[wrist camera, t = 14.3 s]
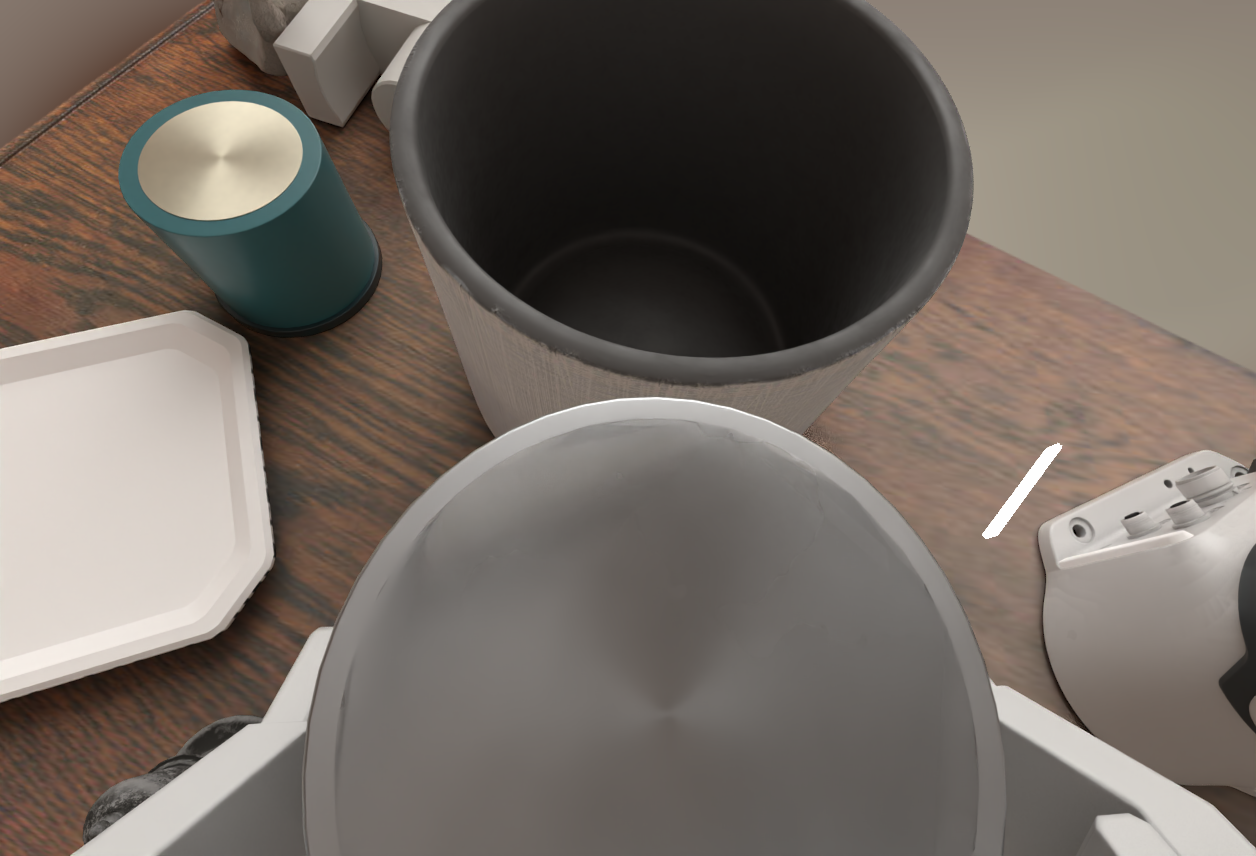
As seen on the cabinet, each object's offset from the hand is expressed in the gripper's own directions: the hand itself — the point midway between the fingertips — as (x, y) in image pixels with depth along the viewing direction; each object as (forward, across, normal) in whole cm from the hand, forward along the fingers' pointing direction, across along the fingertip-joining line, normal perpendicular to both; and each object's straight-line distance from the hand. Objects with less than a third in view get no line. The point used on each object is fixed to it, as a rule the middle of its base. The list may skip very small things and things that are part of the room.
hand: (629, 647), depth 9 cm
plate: (+26, +29, +12) cm, 41 cm away
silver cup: (+3, 0, +4) cm, 4 cm away
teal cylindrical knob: (+38, +20, +1) cm, 43 cm away
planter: (+33, -4, +6) cm, 33 cm away
